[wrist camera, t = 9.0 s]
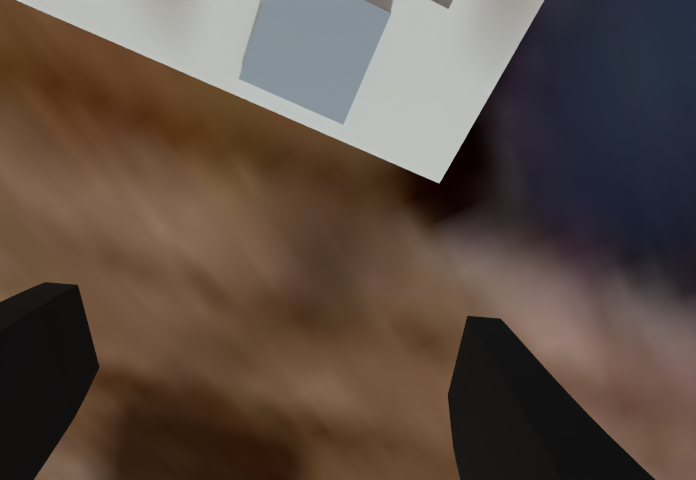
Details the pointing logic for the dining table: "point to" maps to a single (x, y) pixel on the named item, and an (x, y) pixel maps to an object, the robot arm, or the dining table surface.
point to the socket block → (333, 61)
